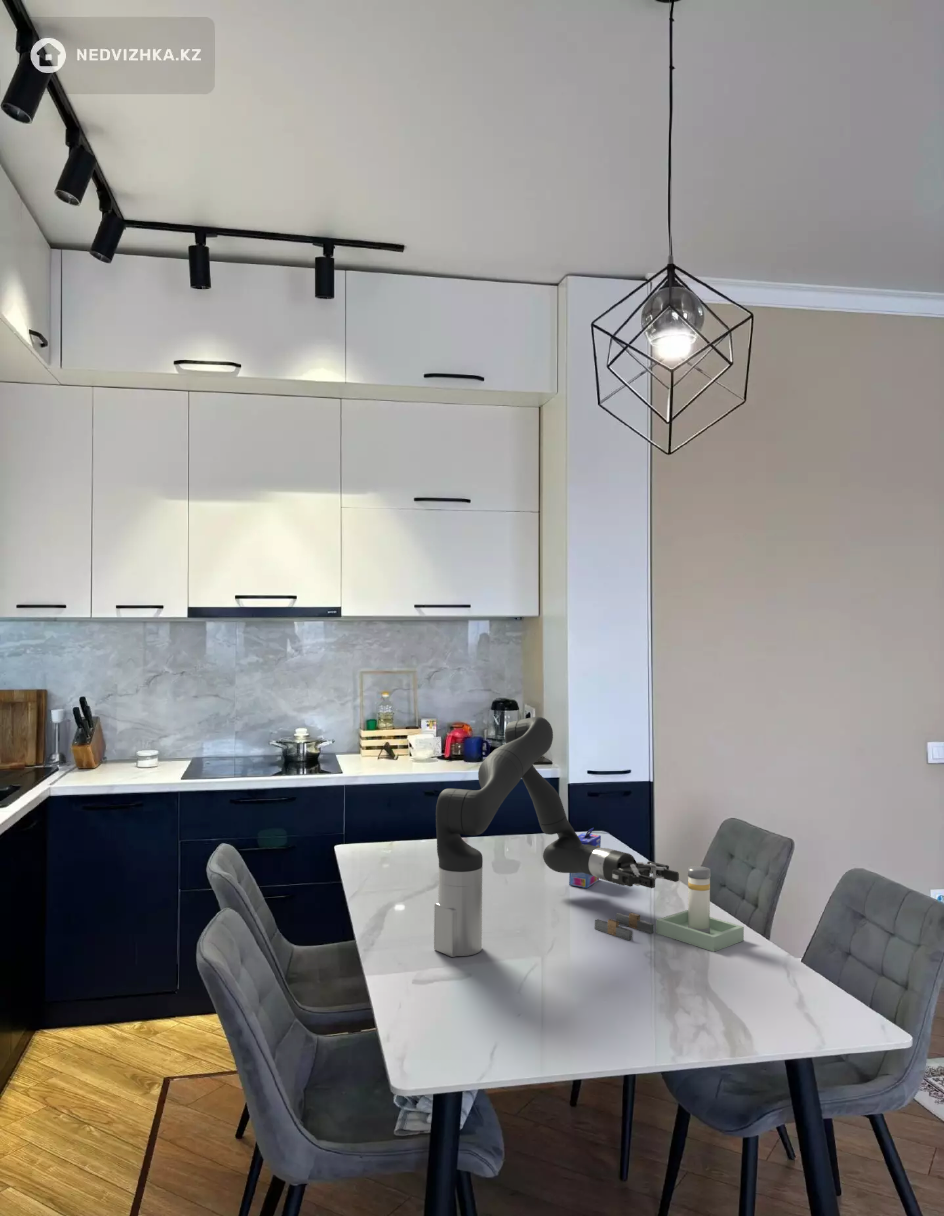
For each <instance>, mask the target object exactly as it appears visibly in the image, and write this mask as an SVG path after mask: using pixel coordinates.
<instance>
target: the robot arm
mask: <svg viewBox="0 0 944 1216" xmlns="http://www.w3.org/2000/svg"><path fill="white" fill-rule="evenodd" d="M504 740H505V743H504V744H503V745H500V746H498V747H497V748H495V749H494V750H492V751H491V753H489V754H488V755H487V756H486V758H485V759H484V760H483V761H482V762H481V764H480V765H479V768H478V772H477V776H478V777H477V778H478V783H479V785H480V788H481V789H477V790H472V789H462V788H445V789H443V790H442V791H441V792H440V793H439V795H438V797H437V802H436V805H435V828H436V829H435V830H436V853H437V858H438V888H437V889H438V895H437V896H438V898H437V899H438V900H437V901H438V902H436V903H435V904H434V907H433V909H434V910H433V911H434V913H433V915H434V916H433V919H434V920H433V922H434V923H433V924H434V925H433V950H434V951H437V952H439V953H442V954H443V955H446V956H448V957H451V958H454V957H468V956H473V955H476V954H478V953H480V952H481V951H482V946H483V944H482V943H483V941H482V940H483V854H482V853H481V851H479V849H477V848H475V847H473V846H471V845H469V844H468V843H467V842H466V841H465V840H464V839H463V838H462V837H461V835H465V836H478V835H481V834H484V832H485V831H486V830H487V829H488V827H489V826H490V824H491V822H492V821H493V819H494V817H495V815H496V814H497V812H498V810H499V808H500V807H501V805H502V804H503V802H504V801H505V800H506V798H507V797H508V795H510V793H511V792H512V791H513V789H514V788H515V787H516V786H517V785H518V784H519V783H520V781H521V780H522V781H523V783H524V786H525V787H526V790H527V792H528V794H529V797H530V799H531V802H532V804H533V807H534V811H535V813H536V817H537V820H538V823H539V826H540V828H541V829H540V830H541V831H542V832H543V833H544V834H545V835H551V836H553V835H557V836H558V837H557V839H555V840H554V841H553V842H551V843H549V844H548V845H547V846H546V847H545V848H544V850H543V851H542V852H543V853H542V858H543V862H544V863H545V865H546V866H547V867H548V868H549V869H551V870H552V871H554V872H557V873H560V874H569V873H585V874H588V875H592V876H595V877H597V878H599V880H602V881H606V882H610V883H613V884H616V885H620V886H627V887H634V886H637V887H639V886H642V887H646V888H649V889H654V888H655V887H656V879H660V880H661V879H662V880H667V881H671V882H674V883H677V882H679V880H680V876H679V875H680V873H679V871H676V870H671V869H670V866H669V865H668V864H663V863H658V862H656V861H655V862H654V861H650V860H649V861H647V863H644V862H640V861H636V859H635V857H634V856H633V855H632V854H631V853H629V852H624V851H620V850H617V849H613V848H612V849H611V848H608V847H601V846H600V847H597V846H593V845H582V843H581V841H580V839H579V837H578V836H579V835H577V832H576V831H575V829H574V827H573V826H572V825H571V823H570V822H569V820H568V818H567V814H566V811H565V808H564V804H563V802H562V801H563V800H562V799H561V797H560V795H559V793H558V791H557V790H556V789H555V787H554V786H553V785H551V783H549V782H548V780H547V779H545V778H544V777H543V776H542V775H541V773H539V771H538V770H537V769H536V768H535V766H534V763H536V762H537V761H538V760H539V759H541V758H542V757H543V756H544V755H545V754H547V752H548V751H549V750H550V748H551V747H552V743H553V740H554V732H553V727H552V725H551V724H550V722H549V720H548V719H546V718H545V717H541V716H533V717H532V716H531V717H528V718H521V719H518V720H512V721H510V722H508V723H507V725H506V726H505V730H504ZM651 874H652V875H651Z"/></svg>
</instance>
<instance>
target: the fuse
mask: <svg viewBox="0 0 944 1216" xmlns="http://www.w3.org/2000/svg"><path fill="white" fill-rule="evenodd" d="M687 879H688V881H687V887H688V888H687V889H688V890H687V892H688V893H687V896H688V897H687V899H688V901H687V902H688V903H687V905H688V906H687V907H688V908H687V909H688V928H691V929H694V930H698V931H701V932H704V933H707V934H710V917H711V916H710V915H711V907H710V906H711V901H710V900H711V868H709V867H705V866H702V865H701V866H700V865H693V866H692V865H691V866H688V867H687Z"/></svg>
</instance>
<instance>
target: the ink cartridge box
mask: <svg viewBox="0 0 944 1216" xmlns="http://www.w3.org/2000/svg"><path fill="white" fill-rule="evenodd" d="M593 830H594V827H592V828H590V829H588V830H587V832H582V833H580V834H579V835H577V836H578V837H579V839H580V841H581V843H582V845H593V846H597V847H600V848H601V840H602V835H598V834H594V833H592V832H593ZM568 875H569V877H568V885H569V886H572V887H579V888H584V889H588V888H589V887H591V886H592V885H594V884H596V883H597V882H598V881H599V882H600V879H599V878H597V877H595V876H592V875H588V874H585V873H568Z"/></svg>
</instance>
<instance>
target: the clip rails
mask: <svg viewBox="0 0 944 1216" xmlns="http://www.w3.org/2000/svg"><path fill="white" fill-rule="evenodd" d="M620 925H622V926H620ZM623 926H626V927H629V928H631V929H628V928H625V927H623ZM594 929H595V930H597V931H600V932H602V933H606V934H609V935H612V936H615V937H617V938H621V939H623V940H627V941H633V930H632V929H635V930H638V931H641V932H644V933H647V934H649V935H651V934H654V923H653V922H649V921H645V920H642V919H641V914H637V913H634V912H629V913H628V915H626V914H625V913H624V914H623V913H620V912H617V913H615V919H614V918H613V919H612V918H609V919H607V921H604V920H602V919H599V918H598V919H597V918H596V919H594Z"/></svg>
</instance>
